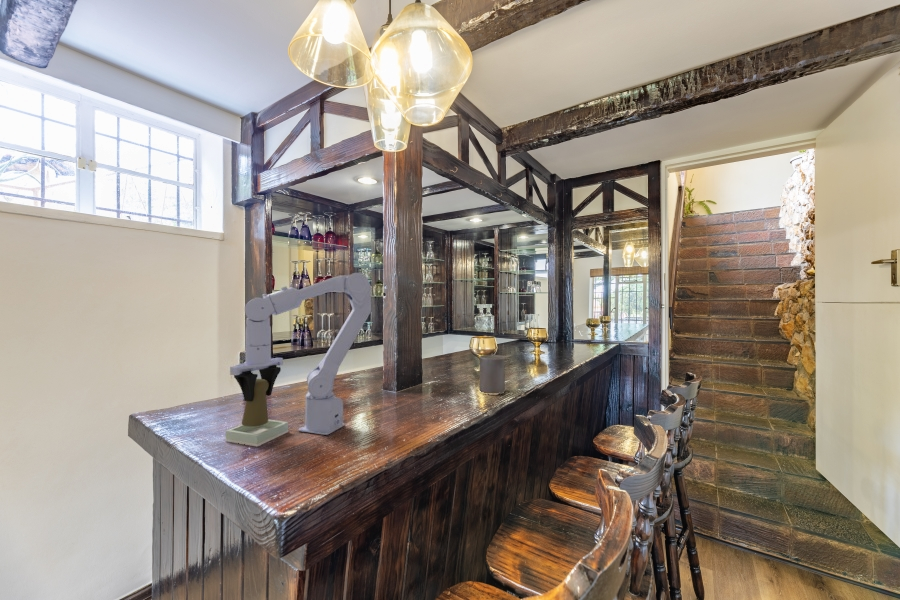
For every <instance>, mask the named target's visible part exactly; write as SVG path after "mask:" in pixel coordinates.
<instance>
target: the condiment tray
mask: <svg viewBox="0 0 900 600" xmlns="http://www.w3.org/2000/svg"><path fill="white" fill-rule="evenodd" d="M287 433H289V421H284V420H283V421H281V420H276V419H275V420H274V419H269V418H268V422H267V423H266V424H264V425H260V426H253V427H249V426H243V425H242V424H240V425H238V426H235V427H233V428H230V429H227V430H225V442H227V443H234V444H238V443H239V444H240V445H244V444H245V445H246V446H251V447H256V448H257V447H259V446H261V445H264V444H266V443H268V442H270V441H272V440H274V439H276V438H278V437H281V436H283V435H285V434H287ZM239 444H238V445H239Z"/></svg>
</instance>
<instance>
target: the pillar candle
mask: <svg viewBox="0 0 900 600" xmlns="http://www.w3.org/2000/svg"><path fill="white" fill-rule="evenodd" d="M505 361H506V356H504V355H500V354H499V355H498V354H493V352H492V353H491V354H483V355H482V354H481V355H480V356H479V386H478V387H479V388H478V389H479V390H480V391H481V392H484V393H499V392H503V391H504V390H505V389H506V387H505V386H506V384H505V383H506V371H505V370H506V369H505V366H506V362H505Z"/></svg>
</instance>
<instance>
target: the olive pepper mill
mask: <svg viewBox="0 0 900 600" xmlns="http://www.w3.org/2000/svg"><path fill="white" fill-rule="evenodd" d="M268 387H269V384H268V382H267V380H265V379H261V378H257V379H256V382H255V387H254V399H253V401H251V402H250V401H245V406H244V410H243V414H242V420H241V425H243V426H249V427H253V426H260V425H264V424H266V423H267V422H268V419H269V414H268V404H267V401H268V400H267V395H266V391H267V390H268Z"/></svg>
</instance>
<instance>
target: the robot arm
mask: <svg viewBox="0 0 900 600" xmlns="http://www.w3.org/2000/svg"><path fill="white" fill-rule="evenodd" d="M331 292H334V293H335V292H336V293H344V294H345V296H346V297H347V298H348V299H349V303H350V306H351V310H350V313H349V315H348V316H347V317H346V320H345V322H343V324H342V326H341V327H340V330H339V331H338V333H337V335H336V337H335V338H334V340H333V341H332V342H331V344H330V347H329V349H328V350H327V351H326V354H325V355H324V357H323V358H322V359H321V360H320V362H319V363H318V364H317V366H316V367H315V368H314V369H313V370H311V371H310V372H309V373H308V375H307V376H306V384H307V389H308V392H307V393H306V394H305V417H304V418H305V421H304V423H305V425H304V426H302V427H299V428H297V431H298V432H303V433H310V434H317V435H325V436H328V435H329V434H332V433H334V432H336V431H337V430H339V429H341V428H343V427H344V426H345V425H346V423H344V402H343V400H342V398H340V397H338V396H335V395H334V391H333V388H334V383H335V382H334V381H335V379H336V377H337V375H338V372H339V369H340V366H341V365H342V362H343V361H344V359H345V357H346V355H347V354H348V352H349V350H350V349H351V347H352V345H353V344H354V342H355V340H356V338H357V337H358V335H359V333H360V331H361V330H362V328H363V327H364V324H365V323H366V321H367V319H368V318H369V316H370V314H371V311H372V286H371V283H370V281H369V278H368V277H367V276H366V275H365V274H364V273H361V272H353V273H351V274H349V275H348V274H344V275H338V276H333V277H330V278H327V279H325V280H322V281H319V282H317V283H314V284H311V285H308V286H306V287H303V288H300V289H297V288H295V287H293V286H290V287H287V286H283V287H281V290H278V291H275V292H272V293H269V294H267V293H263V294H262V295H261V296H262V297H254V298H252V299H251V300H249V301H248V302H247V303H246V304H245V306H244V314H245V316H246V320H245V325H246V326H245V361H244V362H243V363H239V364H236V365H233V366H229V367H230V368H229V369H230V370H229V374H230V376H233V378H234V379H235V380H236V382H237V384H238V385H239V387H240V389H241V392H242V396H243V400H244V402H246V401H250V402H251V401H253V399H254V387H255V382H256V379H258V376H259V375H258V373H254V371H255V372H256V371H259V374H260V379H265V380H267V382H268V384H269V387H268V390H267V391H266V397H270V396H271V395H272V392H273V389H274V385H275V382H276V380H277V377H278V376H279V374H280V373H281V371H282V369H281V367H280V366H283V365H284V364H283V363H284V358H283V357H275V358H274V357H273V358H272V350H271V349H272V348H271V347H272V327H271V315H274V316H277V315H281V314H283V313H286V312H289V311H291V310H295V309H298V308H300V307H301V305H302V303H303V301H305V300H308V299H312V298H314V297H318V296H321V295H323V294H327V293H331Z"/></svg>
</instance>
